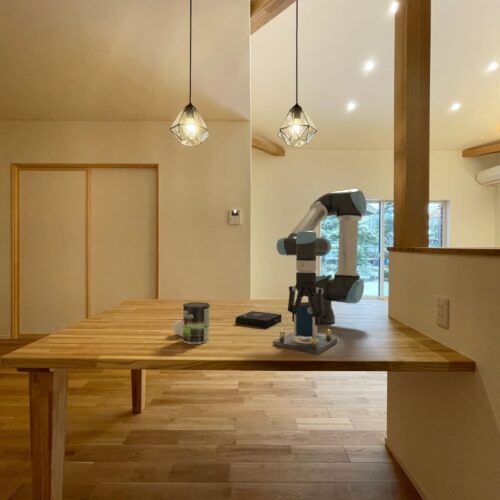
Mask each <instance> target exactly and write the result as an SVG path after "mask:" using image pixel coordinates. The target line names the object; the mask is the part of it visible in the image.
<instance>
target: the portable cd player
mask: <svg viewBox="0 0 500 500" xmlns="http://www.w3.org/2000/svg"><path fill="white" fill-rule="evenodd" d="M281 322H282V314H281V313H273V312H272V313H271V312H263V311H255V310H251V311H249V312H246V313H243V314H241V315H237V316H236V317H235V321H234V323H235V325H241V326H246V327H253V328H262V329H269V328H271V327H273V326H275V325H277V324H279V323H281Z"/></svg>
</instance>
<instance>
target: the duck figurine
mask: <svg viewBox="0 0 500 500" xmlns="http://www.w3.org/2000/svg"><path fill="white" fill-rule="evenodd" d="M181 314H182V315H183V311H181ZM172 328H173V333H174V334H175V335H177V336H180V337H183V319H181V320H177V321H175V322H174V323H173V326H172Z"/></svg>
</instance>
